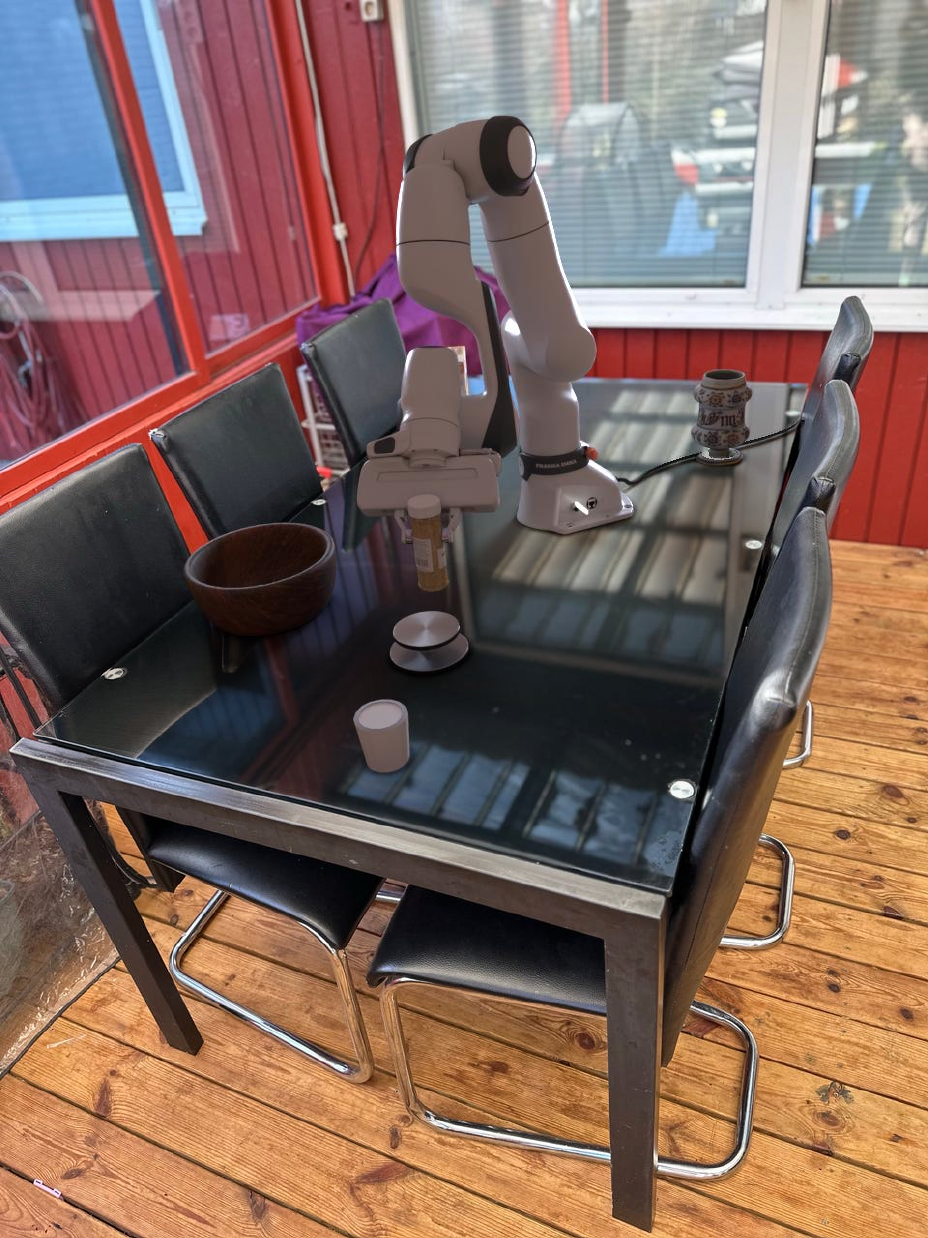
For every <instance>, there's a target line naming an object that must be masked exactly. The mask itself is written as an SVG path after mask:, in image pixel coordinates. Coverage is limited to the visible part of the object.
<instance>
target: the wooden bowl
mask: <svg viewBox="0 0 928 1238" xmlns="http://www.w3.org/2000/svg"><path fill="white" fill-rule="evenodd" d="M336 551H337V550H336V544H335V541H334V539H333V537H332V536H331V534H329V533H328V532H327V531H326V530H324V529H321V528H319V527H317V526H313V525H310V524H307V523H306V524H305V523H298V522H273V523H264V524H257V525H251V526H248V527H244V528H240V529H236V530H233V531H231V532H228V533H224V534H222V535H220V536H218V537H216V538H215V537H214V538H213V539H211V540H209V541H208V542H206V543H204V544H203V545H201V546H200V547H198V548H197V549H196V550H195V551H193V552H192V554H191V555H189V557H188V558H187V559H186V561H185V563H184V565H183V578H184V581H185V584H186V586H187V587H188V590H189V593H190V595H191V597H192V598H193V600H194V602H195V604H196V605H197V607H198V609H199V610H200V612H201V613H202V614H203V616H204V617H205V618H206V619H207V621H209V622H210V623H211V624H212V625H214V626H215V627H216V628H218V629H219V630H221V631H223V632H226V633H229V634H231V635H236V636H243V637H261V636H263V637H264V636H270V635H275V634H279V633H284V632H287V631H290V630H293V629H296V628H298V627H300V626H302V625H305V624H306V623H308V622H310V621H312V620H313V619H314V618H316V617H317V616H318V615H319V614H320V613H322V611H323V610H324V609H325V608H326V607H327V605H328V604H329V602H330V599H331V598H332V596H333V592H334V589H335V586H336V585H335V584H336V579H337V578H336V577H337V552H336Z"/></svg>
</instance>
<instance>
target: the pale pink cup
mask: <svg viewBox="0 0 928 1238" xmlns="http://www.w3.org/2000/svg"><path fill="white" fill-rule="evenodd" d="M352 720H353V723H354V726H355V730H356V733H357V736H358V739H359V743H360V746H361V749H362V752H363V755H364V758H365V762H366V765H367V767H368V768H369V769H370V770H372V771H374V772H377V773H392V772H395V771H398V770H400V769H402V768H403V767H405V765H406V764H407V763H408V762H409V759H410V739H409V738H410V736H409V735H410V734H409V732H410V731H409V713H408V710H407V707H406V706H405V704H403V703H401V702H400V701H397V700H393V699H377V700H374V701H370V702H368V703H366V704H363V705H362V706H360V708H359V709H358V710H356V711H355V713H354V716H353V718H352Z"/></svg>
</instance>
